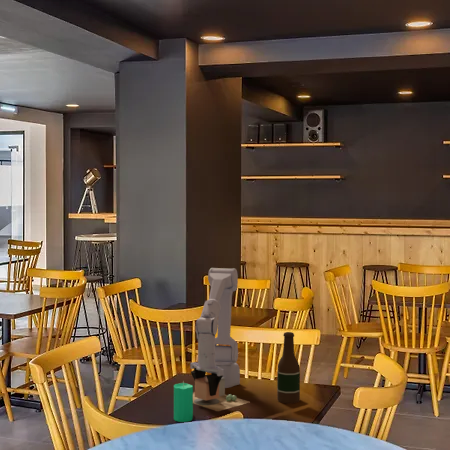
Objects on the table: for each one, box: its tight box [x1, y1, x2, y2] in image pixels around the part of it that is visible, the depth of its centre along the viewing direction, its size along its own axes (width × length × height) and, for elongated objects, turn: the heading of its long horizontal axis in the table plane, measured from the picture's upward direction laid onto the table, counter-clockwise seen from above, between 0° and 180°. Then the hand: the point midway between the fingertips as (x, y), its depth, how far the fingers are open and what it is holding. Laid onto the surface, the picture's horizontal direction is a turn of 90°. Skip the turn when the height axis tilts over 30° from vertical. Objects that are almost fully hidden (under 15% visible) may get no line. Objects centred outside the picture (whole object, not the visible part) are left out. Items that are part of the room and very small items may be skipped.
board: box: [193, 391, 251, 412], centre depth 233 cm, size 15×22×1 cm
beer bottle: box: [276, 331, 301, 404], centre depth 232 cm, size 8×8×24 cm
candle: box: [173, 380, 194, 423], centre depth 215 cm, size 6×6×12 cm
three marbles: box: [226, 393, 238, 401], centre depth 232 cm, size 4×4×2 cm
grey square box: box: [219, 377, 226, 396], centre depth 239 cm, size 6×6×6 cm
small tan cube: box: [194, 376, 219, 400], centre depth 231 cm, size 6×6×6 cm
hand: (206, 393), depth 231 cm, fingers closed on small tan cube, 6 cm apart
